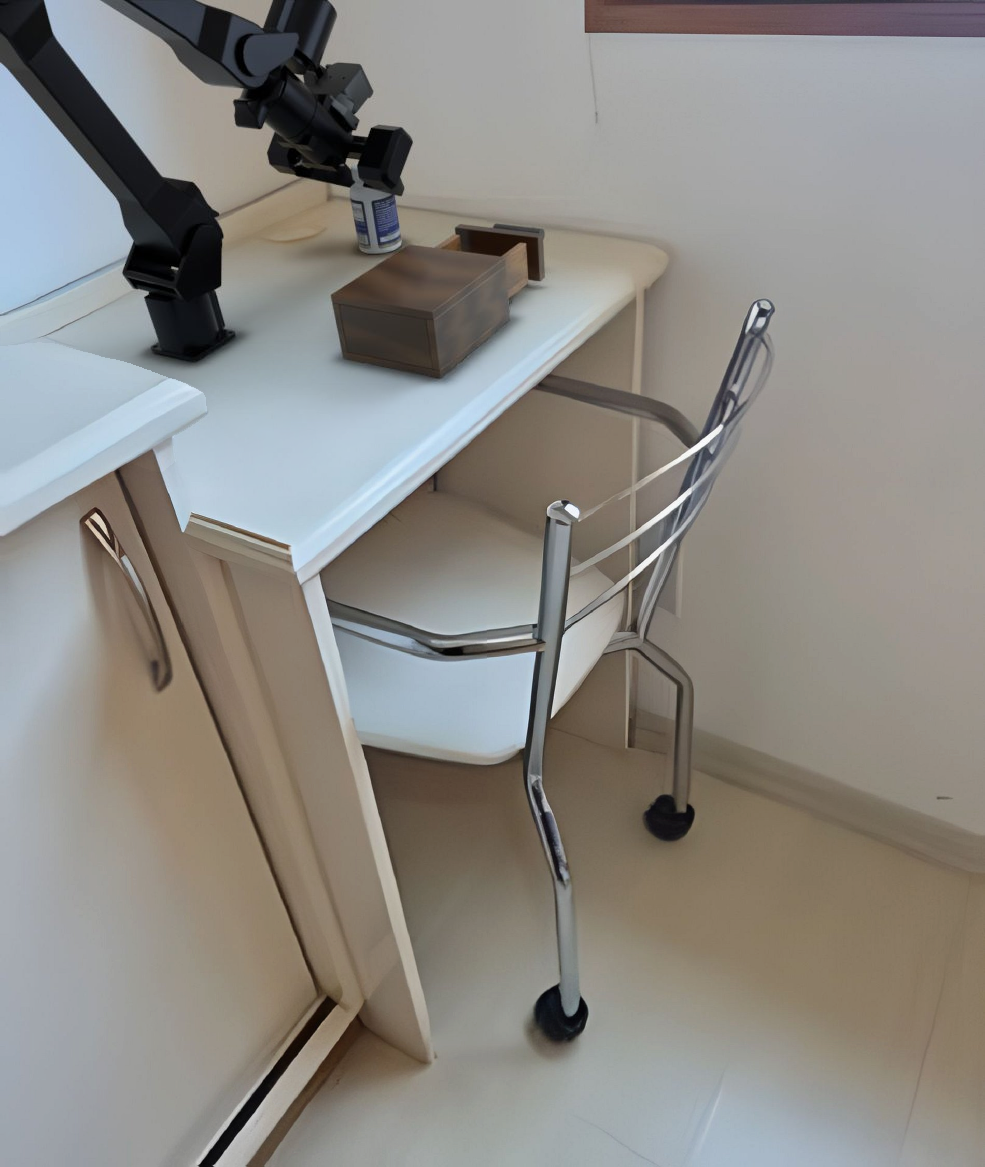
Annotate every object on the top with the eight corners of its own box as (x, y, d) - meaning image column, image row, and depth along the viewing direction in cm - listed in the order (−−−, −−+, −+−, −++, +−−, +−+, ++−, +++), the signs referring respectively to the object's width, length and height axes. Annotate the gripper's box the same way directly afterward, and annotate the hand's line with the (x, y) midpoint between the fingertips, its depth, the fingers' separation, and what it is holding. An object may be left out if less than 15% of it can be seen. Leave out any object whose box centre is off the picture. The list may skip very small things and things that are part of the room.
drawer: (484, 252, 109) (480, 210, 106) (563, 262, 105) (562, 219, 102) (403, 309, 98) (397, 265, 95) (488, 324, 94) (484, 278, 91)
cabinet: (417, 304, 101) (409, 244, 97) (510, 320, 96) (505, 257, 92) (342, 358, 93) (330, 294, 88) (440, 378, 88) (432, 312, 83)
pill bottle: (405, 238, 117) (394, 156, 111) (398, 254, 113) (385, 170, 107) (363, 240, 118) (350, 159, 112) (355, 256, 114) (340, 172, 108)
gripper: (388, 44, 94) (464, 132, 108) (261, 37, 103) (346, 119, 117) (349, 149, 94) (430, 223, 108) (226, 132, 103) (315, 203, 117)
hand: (379, 188), depth 112 cm, fingers open, 7 cm apart
